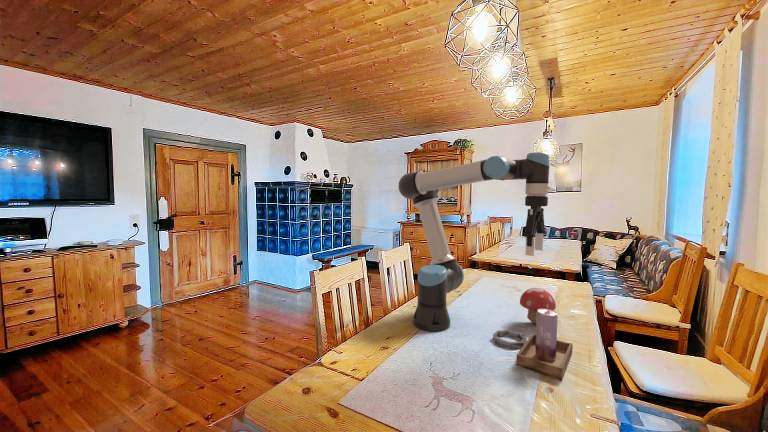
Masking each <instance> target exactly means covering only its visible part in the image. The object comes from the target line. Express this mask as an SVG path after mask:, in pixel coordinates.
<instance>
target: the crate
mask: <svg viewBox="0 0 768 432" xmlns="http://www.w3.org/2000/svg"><path fill="white" fill-rule="evenodd" d="M573 347H574V346H573V343H571V342H567V341H563V340H560V339H557V345H556V358H555V360H553V361H544V360H541V359H539V358H538V357H537V356H536V354H535V348H536V333H531V335H530V336H529V337H528V339H527V341H526V343H525V344H524V346H523V347H522V348H520V350H519V351H518V352H517V353H516V359H515V360H516V362H515V363H516V364H515V366H516V367H518V368H522V369H525V370H529V371H531V372H535V373H536V374H537V373H538V374H541V375H544V376H547V377H550V378H553V379H556V380H558V381H559V380H560V381H563V379H564V377H565V374H566V372H567V368H568V366H569V363H570V361H571V359H572V355H573V349H574V348H573Z"/></svg>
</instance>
